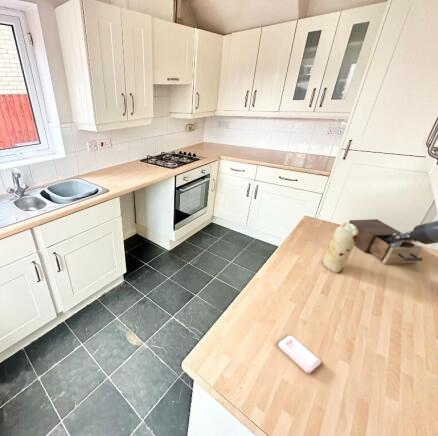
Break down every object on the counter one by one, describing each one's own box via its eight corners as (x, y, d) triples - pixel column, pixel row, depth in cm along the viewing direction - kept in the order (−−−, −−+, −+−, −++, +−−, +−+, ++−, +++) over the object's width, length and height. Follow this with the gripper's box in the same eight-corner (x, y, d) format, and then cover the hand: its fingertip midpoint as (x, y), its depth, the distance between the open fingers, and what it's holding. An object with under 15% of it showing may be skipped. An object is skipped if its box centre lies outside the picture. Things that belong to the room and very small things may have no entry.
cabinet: (393, 251, 109) (404, 234, 104) (364, 252, 109) (373, 235, 104) (368, 235, 121) (377, 219, 116) (342, 236, 120) (349, 220, 116)
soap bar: (307, 376, 63) (310, 370, 62) (276, 347, 70) (278, 342, 69) (319, 366, 65) (322, 360, 64) (288, 339, 73) (290, 333, 71)
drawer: (423, 269, 97) (434, 254, 93) (394, 270, 97) (403, 255, 93) (386, 245, 112) (394, 231, 108) (360, 246, 111) (367, 232, 108)
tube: (391, 249, 105) (400, 233, 101) (398, 254, 102) (408, 238, 98) (382, 248, 106) (390, 233, 102) (388, 253, 102) (397, 237, 99)
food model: (344, 276, 95) (365, 233, 86) (325, 272, 98) (343, 230, 88) (337, 261, 103) (356, 221, 94) (319, 258, 106) (335, 218, 96)
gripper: (451, 221, 89) (403, 232, 105) (413, 222, 88) (371, 233, 105) (459, 241, 86) (409, 249, 103) (421, 242, 86) (376, 250, 103)
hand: (390, 241), depth 104 cm, fingers closed on tube, 3 cm apart
